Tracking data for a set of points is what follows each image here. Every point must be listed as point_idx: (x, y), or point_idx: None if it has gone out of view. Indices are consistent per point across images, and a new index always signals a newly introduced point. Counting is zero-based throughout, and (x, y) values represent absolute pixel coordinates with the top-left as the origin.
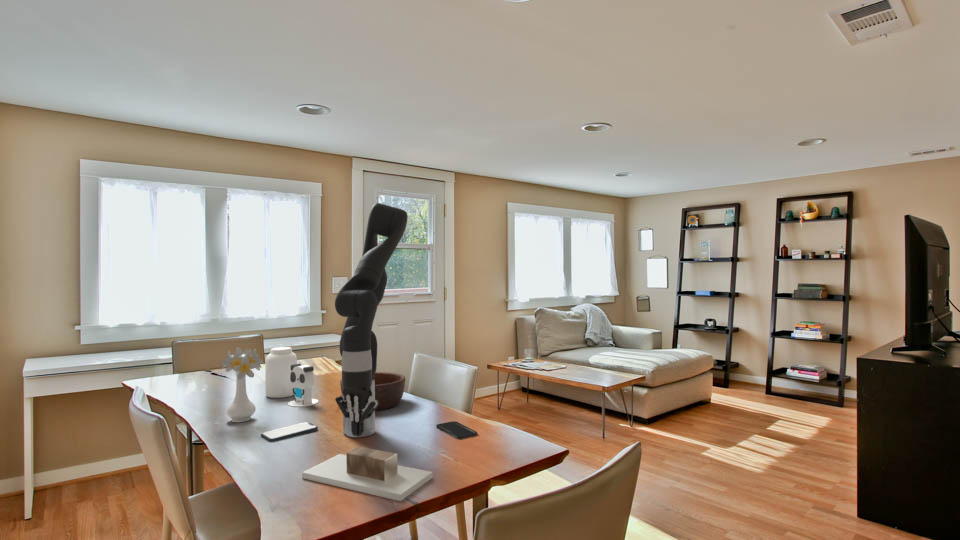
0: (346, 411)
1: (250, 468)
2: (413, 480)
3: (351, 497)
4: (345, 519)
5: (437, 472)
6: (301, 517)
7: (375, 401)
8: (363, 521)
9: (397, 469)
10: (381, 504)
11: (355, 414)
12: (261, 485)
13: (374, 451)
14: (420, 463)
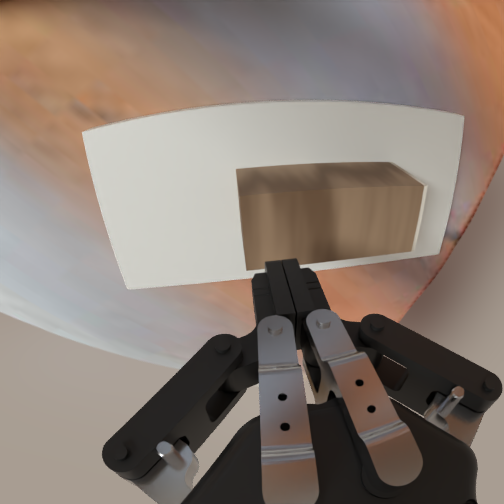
0: (231, 406)
1: (8, 296)
2: (444, 183)
3: (328, 284)
4: None
5: (450, 73)
6: None
7: (482, 414)
8: None
9: (398, 166)
10: (402, 273)
11: (314, 390)
12: (103, 334)
13: (339, 206)
14: (379, 21)
